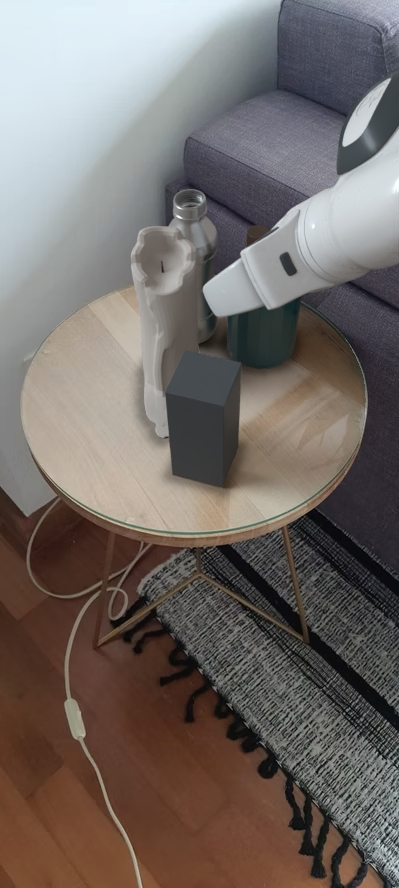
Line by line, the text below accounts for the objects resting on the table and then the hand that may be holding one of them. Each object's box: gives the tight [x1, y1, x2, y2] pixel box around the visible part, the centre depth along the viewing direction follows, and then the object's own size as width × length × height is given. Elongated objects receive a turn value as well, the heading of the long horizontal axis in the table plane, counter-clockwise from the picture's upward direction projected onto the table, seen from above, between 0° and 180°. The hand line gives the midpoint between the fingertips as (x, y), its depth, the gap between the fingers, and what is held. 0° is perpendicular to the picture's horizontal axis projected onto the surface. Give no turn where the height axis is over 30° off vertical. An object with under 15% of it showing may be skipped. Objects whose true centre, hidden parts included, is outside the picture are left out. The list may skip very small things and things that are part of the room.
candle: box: [130, 225, 200, 439], centre depth 77 cm, size 7×14×20 cm, turn 2°
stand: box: [165, 350, 243, 489], centre depth 73 cm, size 6×6×14 cm
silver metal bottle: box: [168, 188, 220, 345], centre depth 83 cm, size 6×7×20 cm
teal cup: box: [226, 297, 302, 370], centre depth 86 cm, size 9×9×10 cm
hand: (252, 274), depth 81 cm, fingers closed on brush, 2 cm apart
